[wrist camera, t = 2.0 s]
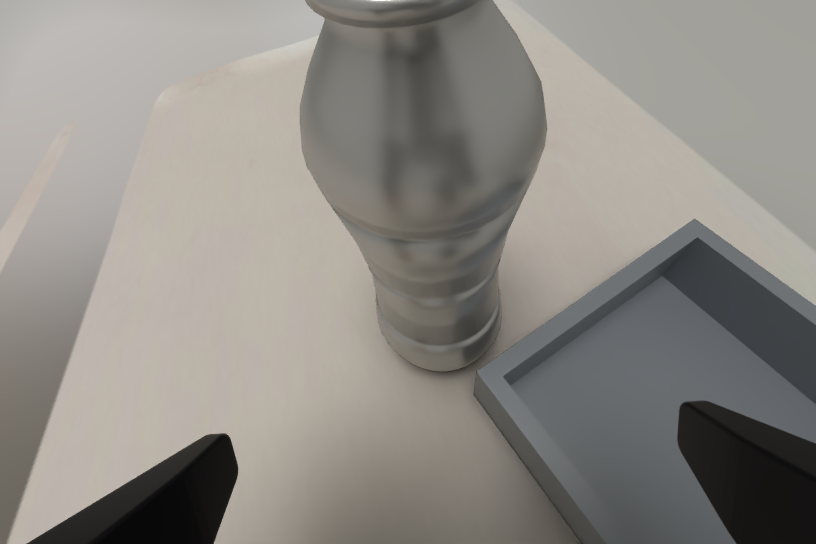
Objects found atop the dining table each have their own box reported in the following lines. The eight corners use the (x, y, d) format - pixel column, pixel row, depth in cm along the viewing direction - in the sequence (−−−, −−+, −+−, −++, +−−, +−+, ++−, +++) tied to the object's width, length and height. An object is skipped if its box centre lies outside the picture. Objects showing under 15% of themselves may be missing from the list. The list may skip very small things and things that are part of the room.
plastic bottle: (421, 261, 26) (338, -224, 8) (518, 309, 23) (685, -235, 6) (363, 343, 23) (83, -95, 6) (465, 405, 21) (485, -27, 4)
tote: (697, 702, 15) (782, 777, 11) (473, 394, 21) (476, 371, 17) (915, 479, 17) (1048, 474, 13) (656, 264, 24) (694, 218, 20)
